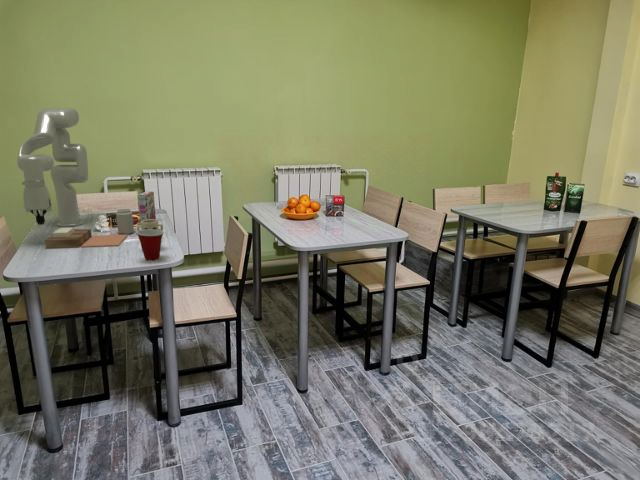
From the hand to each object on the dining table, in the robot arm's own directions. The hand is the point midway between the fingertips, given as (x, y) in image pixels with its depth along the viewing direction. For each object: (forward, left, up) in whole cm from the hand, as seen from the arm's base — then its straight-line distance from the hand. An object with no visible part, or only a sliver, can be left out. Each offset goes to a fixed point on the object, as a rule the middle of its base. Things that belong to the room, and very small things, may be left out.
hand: (41, 224), depth 219 cm
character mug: (+14, +51, -10) cm, 54 cm away
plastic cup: (+28, +54, -10) cm, 62 cm away
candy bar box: (-35, +40, -10) cm, 54 cm away
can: (-15, +33, -10) cm, 37 cm away
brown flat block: (-1, +11, -9) cm, 14 cm away
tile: (-1, +9, -4) cm, 10 cm away
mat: (-1, +27, -9) cm, 29 cm away
